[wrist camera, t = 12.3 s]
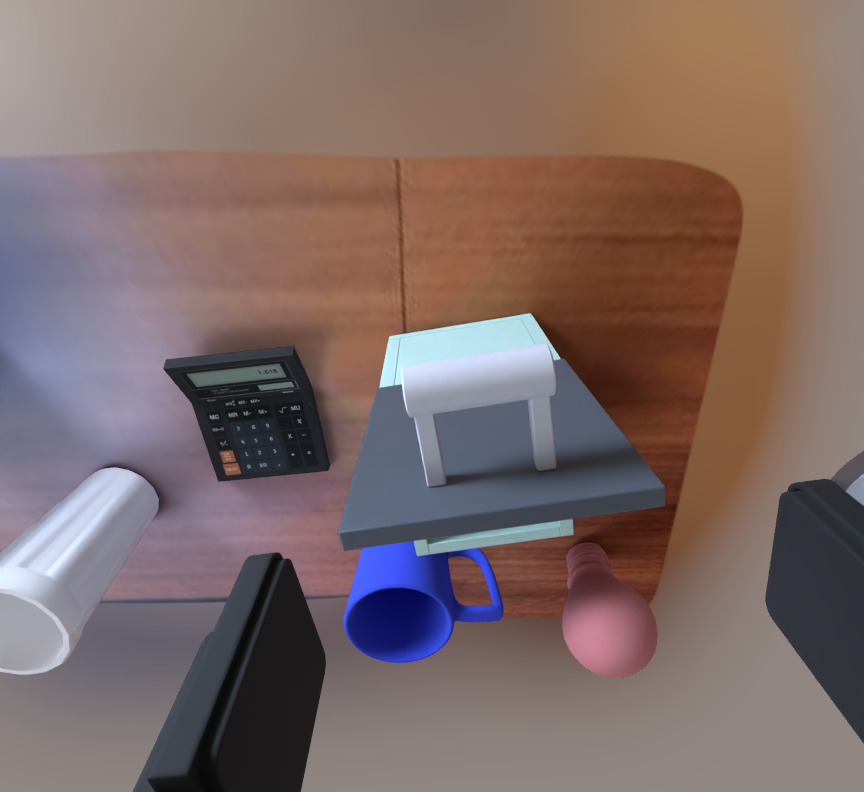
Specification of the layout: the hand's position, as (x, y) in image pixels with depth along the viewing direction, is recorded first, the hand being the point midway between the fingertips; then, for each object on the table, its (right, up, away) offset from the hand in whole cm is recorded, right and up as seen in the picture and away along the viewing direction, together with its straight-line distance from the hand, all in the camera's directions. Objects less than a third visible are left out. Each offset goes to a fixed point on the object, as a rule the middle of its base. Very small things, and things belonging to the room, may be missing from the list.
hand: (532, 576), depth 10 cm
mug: (-3, -9, +38) cm, 39 cm away
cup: (-29, -5, +35) cm, 46 cm away
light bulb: (+12, -11, +39) cm, 42 cm away
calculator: (-16, +2, +32) cm, 36 cm away
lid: (0, +2, +13) cm, 14 cm away
